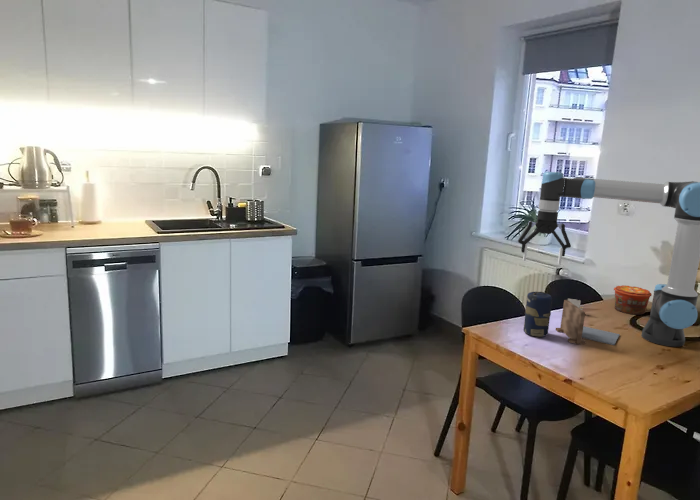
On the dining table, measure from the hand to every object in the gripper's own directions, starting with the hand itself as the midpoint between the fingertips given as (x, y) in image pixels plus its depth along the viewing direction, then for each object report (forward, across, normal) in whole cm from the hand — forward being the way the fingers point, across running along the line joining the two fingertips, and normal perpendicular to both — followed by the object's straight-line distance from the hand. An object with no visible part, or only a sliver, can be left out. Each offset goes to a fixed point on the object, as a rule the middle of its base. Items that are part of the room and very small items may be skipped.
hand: (541, 262), depth 208 cm
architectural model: (+29, -20, -29) cm, 46 cm away
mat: (+28, -25, 0) cm, 38 cm away
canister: (+29, 0, +7) cm, 30 cm away
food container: (+29, -49, -45) cm, 72 cm away
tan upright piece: (+28, -14, +5) cm, 32 cm away
